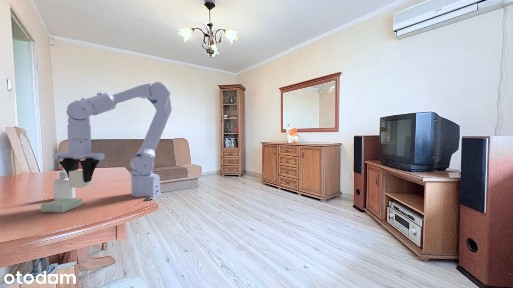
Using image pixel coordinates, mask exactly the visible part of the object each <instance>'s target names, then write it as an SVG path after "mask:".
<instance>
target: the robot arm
mask: <svg viewBox="0 0 513 288" xmlns="http://www.w3.org/2000/svg"><path fill="white" fill-rule="evenodd" d="M136 98H140V99H144V100H145V99H147V100H148V101H149V102H150V103H151V104H152V105H153V107H154V108H155V110H156V111H155V113H154V116H153V118H152V119H151V123H150V125H149V127H148V130H147V132H146V135H145V136H144V139H143V142H142V144H141V146H140V148H139V149H138V151H137V152H136V154H135V155H134V156H133V157H132V158H131V160H130V162H129V167H130V169H132V172H131V174H130V178H131V179H130V180H131V181H130V183H131V185H130V186H131V187H130V188H131V197H137V198H138V197H145V198H144V199H143V200H146V201H151V200H150V199H152V200H154V199H155V198H157V197H158V196H160V195H161V194H162V192H161V177H160V175H159V174H157V173H154V172H153V170H154V168H155V159H156V150H157V148H158V145H159V143H160V141H161V137H162V135H163V132H164V130H165V129H166V128H165V127H166V125H167V122H168V119H169V118H170V115H171V113H172V105H171V103H172V102H171V92H170V90H169V88H168V87H167V85H166V84H165V83H164V82H162V81H155V82H153V83H145V84H141V85H136V86H135V87H132V88H128V89H126V90H124V91H119V92H117V93H114V94H109V93H107V92H104V93H102V92H101V91H100V92H98V93H96V95H93V96H91V97H87V98H84V97H82V98H80V100H74V101H73V102H71V103H69V104H68V105H67V108H66V116H67V117H68V118H67V123H68V124H67V152H55V153H54V160H59V161H58V162H59V165H61V167H62V168H64V170H65V171H66V173H67V176H68V178H69V172H70V171H75V170H79V165H80V166H81V168H82V169H81V170H83V179H84V182H89V181H91V179H93V175H94V172H95V170H96V168H97V166H98V165H99V163H100V161H101V160H105V157H106V156H105V155H106V154H105V153H103V152H101V153H99V152H92V132H91V129H92V127H91V124H90V121H91V120H90V117H91V116H98V115H101V114H104V113H107V112H109V111H112V110H115V109H116V106H117V104H120V103H122V102H123V103H124V102H126V101H129V100H132V99H136ZM148 195H149V196H148ZM150 197H151V198H150Z"/></svg>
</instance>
